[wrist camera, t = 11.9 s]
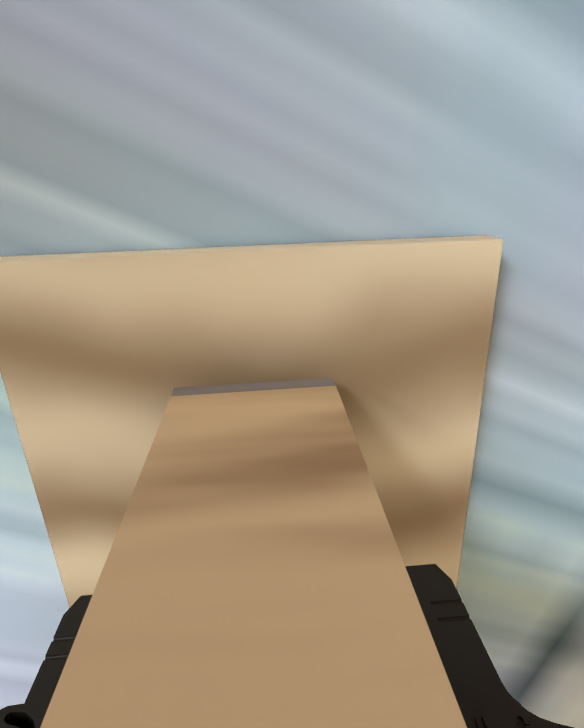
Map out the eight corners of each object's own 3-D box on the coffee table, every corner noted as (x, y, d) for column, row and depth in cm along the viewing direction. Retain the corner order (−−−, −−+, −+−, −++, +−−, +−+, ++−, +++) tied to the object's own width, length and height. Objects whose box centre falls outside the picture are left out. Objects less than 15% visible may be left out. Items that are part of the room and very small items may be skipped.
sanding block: (173, 388, 14) (-102, 1088, 3) (332, 377, 15) (569, 997, 4) (199, 559, 17) (92, 1272, 6) (334, 548, 17) (472, 1212, 6)
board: (-10, 257, 15) (-33, 263, 13) (485, 235, 15) (504, 239, 14) (107, 681, 22) (99, 709, 21) (435, 650, 23) (445, 675, 22)
